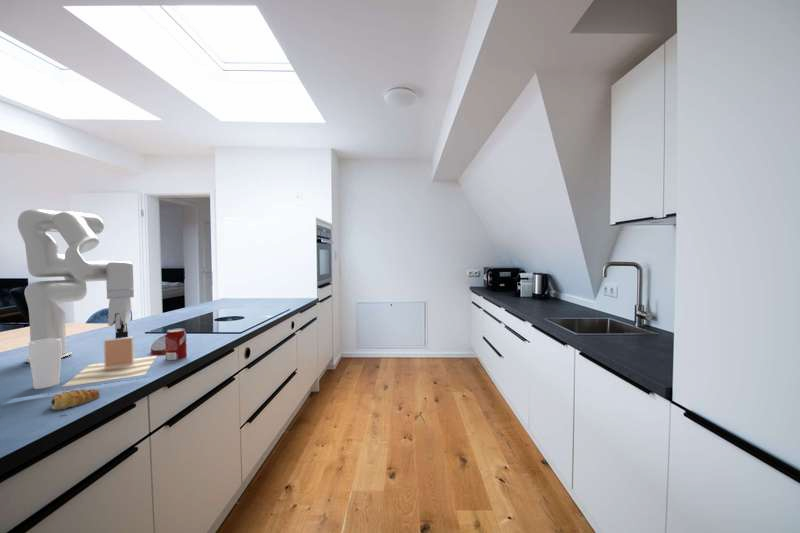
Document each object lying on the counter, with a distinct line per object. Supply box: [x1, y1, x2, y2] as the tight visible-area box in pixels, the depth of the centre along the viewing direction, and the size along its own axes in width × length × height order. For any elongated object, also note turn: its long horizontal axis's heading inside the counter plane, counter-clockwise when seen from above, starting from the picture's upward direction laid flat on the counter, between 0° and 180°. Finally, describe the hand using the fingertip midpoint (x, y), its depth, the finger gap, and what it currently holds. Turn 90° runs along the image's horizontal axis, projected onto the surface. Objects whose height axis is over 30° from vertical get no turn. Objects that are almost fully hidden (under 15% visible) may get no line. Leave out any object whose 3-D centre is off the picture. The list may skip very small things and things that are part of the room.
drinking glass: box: [28, 338, 62, 390], centre depth 95 cm, size 7×7×15 cm
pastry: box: [50, 388, 101, 411], centre depth 86 cm, size 9×7×4 cm
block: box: [103, 335, 135, 368], centre depth 113 cm, size 2×8×10 cm, turn 121°
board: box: [61, 355, 158, 391], centre depth 109 cm, size 24×20×1 cm
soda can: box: [164, 327, 188, 361], centre depth 122 cm, size 7×7×12 cm
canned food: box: [150, 334, 166, 356], centre depth 131 cm, size 11×10×10 cm
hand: (122, 342), depth 116 cm, fingers closed
